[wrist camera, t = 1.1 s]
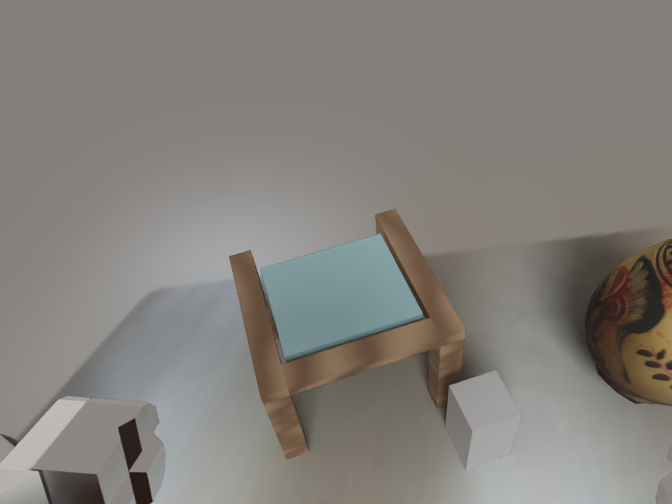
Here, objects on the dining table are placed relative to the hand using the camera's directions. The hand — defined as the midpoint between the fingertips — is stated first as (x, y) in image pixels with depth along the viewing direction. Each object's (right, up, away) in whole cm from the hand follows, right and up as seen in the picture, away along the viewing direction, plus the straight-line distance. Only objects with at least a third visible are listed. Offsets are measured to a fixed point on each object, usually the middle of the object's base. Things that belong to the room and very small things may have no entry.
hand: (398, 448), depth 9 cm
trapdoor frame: (0, -10, +57) cm, 58 cm away
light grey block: (+14, -17, +49) cm, 54 cm away
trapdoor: (-1, -1, +48) cm, 48 cm away
